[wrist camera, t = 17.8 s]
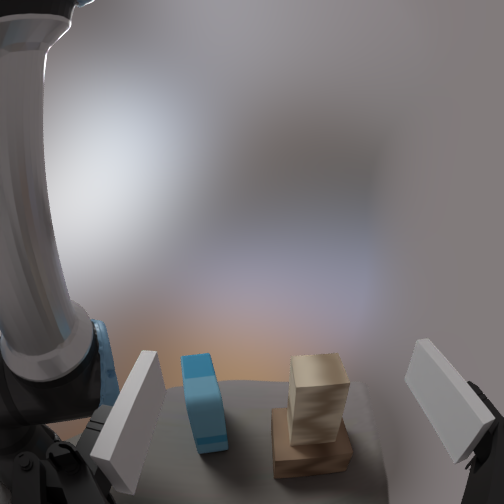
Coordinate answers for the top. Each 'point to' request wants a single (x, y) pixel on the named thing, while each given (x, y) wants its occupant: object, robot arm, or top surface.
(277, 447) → the block
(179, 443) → the top surface
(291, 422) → the birch block
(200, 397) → the data package
